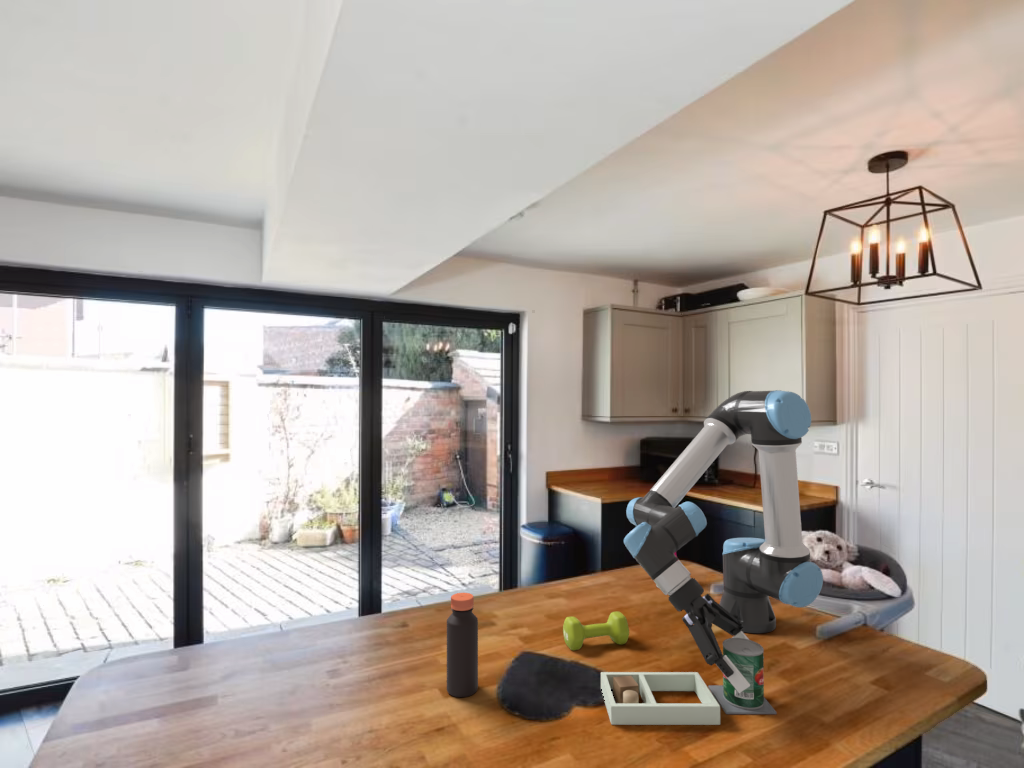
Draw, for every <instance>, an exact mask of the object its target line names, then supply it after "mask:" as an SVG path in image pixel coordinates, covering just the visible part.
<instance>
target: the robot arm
mask: <svg viewBox="0 0 1024 768" xmlns="http://www.w3.org/2000/svg"><path fill="white" fill-rule="evenodd" d="M811 413H812V412H811V410H810V407H809V405H808V404H807V402H806V400H805V398H804V399H803V398H802V397H801V395H799V394H798V393H796V392H793V391H789V390H786V391H785V390H780V389H779V390H778V389H777V390H744V391H740V392H737V393H735V394H733V395H731V396H730V397H728V398H726V399H725V400H724V401H722V402H721V403H720V404H719V405H718V406H716V408H714V409H713V410H712V411H711V413H710V414H709V415H708V416H707V417H706V418H705V419H704V421H703V427H702V429H701V430H700V431H699V432H698V434H696V436H695V437H694V438H693V439H692V440H691V442H690V443H689V444H688V445H687V446H686V448H685V449H684V450H683V451H682V452H681V453H680V454H679V455H678V457H677V458H676V459H675V460H674V461H673V463H672V464H671V465H670V466H669V467H668V469H667V470H666V471H665V472H664V473H663V475H661V477H660V478H659V479H658V480H657V482H656V483H655V484H654V485H653V486H652V487H651V488H650V489H649V491H648V492H647V493H646V494H645V495H644V496H643V497H634V498H633V499H631V500H629V502H628V504H627V507H626V510H625V511H626V512H625V513H626V518H627V519H628V521H629V522H630V524H632V525H634V526H635V527H634V528H633V529H632V530H630V531H629V533H627V534H626V535H625V537H624V538H623V544H624V545H625V547H626V549H627V550H628V552H629V553H630V555H631V556H632V558H633V559H635V560H636V562H637V563H638V564H639V565H640V567H641V568H642V569H643V570H644V571H645V572H646V574H647V575H648V576H649V578H650V579H651V580H652V581H653V582H654V584H655V586H656V588H658V589H659V590H660V591H661V592H662V593H663V594H664V595H665V596H667V595H668V601H669V602H670V605H672V606H673V607H674V609H675V610H676V611H677V612H682V611H685V613H686V614H685V615H684V616H683V617H681V621H682V622H683V623H684V624H685V626H686V627H687V629H688V631H689V632H690V635H691V637H692V638H693V640H694V643H695V644H696V645H697V647H698V649H699V652H700V653H701V655H702V657H703V659H704V661H705V663H706V664H707V665H709V666H710V667H711V666H713V665H714V664H715V665H716V667H718V669H719V670H720V671H721V673H722V675H723V674H724V675H725V676H726V678H727V679H728V680H729V681H730V682H731V684H732V685H733V686H734V687H735V689H736V690H737V691H738V692H739V693H741V692H742V691H744V690H745V689H747V688H748V687H750V684H749V683H748V681H747V680H746V679H745V678H744V676H743V675H742V674H741V673H740V672H739V670H738V669H737V668H736V667H735V665H734V664H733V663H732V662H731V661H730V659H729V658H728V657H727V656H726V655H725V656H723V651H722V650H721V648H720V645H719V643H718V641H717V638H716V635H715V633H714V630H713V625H714V626H716V627H718V628H719V629H721V630H722V631H724V632H726V633H728V634H729V635H730V636H732V637H731V638H744V639H748V640H750V639H749V637H748V636H747V635H746V634H745V633H750V634H765V633H766V634H767V633H770V632H773V631H775V629H776V628H777V619H776V614H775V612H774V608H773V606H772V602H771V600H770V597H771V598H773V599H775V600H777V601H780V602H781V603H782V604H785V605H790V606H793V607H796V608H804V607H807V606H809V605H811V604H813V603H814V602H815V601H816V600H817V597H818V596H819V595H820V592H822V591H821V590H822V588H823V583H824V575H823V571H822V569H821V568H820V567H819V565H817V563H815V562H814V561H811V550H810V548H809V547H808V546H806V545H805V544H804V543H803V532H802V520H801V519H802V518H801V506H800V505H801V503H800V491H799V490H800V489H799V480H798V465H797V449H798V448H799V447H800V446H801V445H802V443H803V442H802V440H803V439H802V437H804V436H806V434H808V432H809V428H811V424H812V414H811ZM745 435H750V439H751V442H750V443H751V445H752V446H753V447H755V448H756V450H757V451H758V458H759V459H758V460H759V462H758V463H759V474H760V485H761V499H762V500H761V501H762V503H761V504H762V515H763V527H764V538H761V537H760V538H759V537H758V538H757V537H732V538H729V539H726V540H725V541H724V542H723V546H722V549H723V551H722V577H723V579H722V580H723V581H722V582H723V591H722V595H721V597H720V601H719V603H718V602H717V601H716V600H715V599H714V598H713V597H712V596H711V595H710V594H708V593H706V594H705V595H704V596H702V595H703V594H704V593H705V590H704V588H703V586H702V585H701V584H700V583H699V582H698V581H697V579H696V578H694V577H691V572H690V570H688V568H687V567H686V566H685V565H684V564H683V563H682V561H680V559H679V558H678V556H677V557H676V556H675V555H674V553H675V552H676V553H677V552H678V551H679V550H680V549H681V548H683V547H684V546H686V545H687V544H688V543H689V542H690V541H692V540H693V539H695V538H696V537H698V536H699V534H700V533H701V532H702V531H703V530H704V529H706V527H707V524H708V522H707V517H706V516H705V514H704V511H702V509H701V508H700V507H699V506H698V505H697V504H696V503H694V502H692V501H685V502H682V503H681V504H679V503H680V502H681V501H682V500H683V499H684V497H685V496H686V495H687V493H688V492H689V491H690V490H691V489H692V488H693V487H694V486H695V484H696V483H697V482H698V481H699V479H700V478H701V477H702V476H703V474H704V473H705V472H706V471H708V470H707V469H708V468H709V467H710V466H711V465H712V464H713V462H715V460H716V459H717V458H718V456H719V455H720V454H721V453H722V452H723V450H724V449H725V448H726V447H727V446H728V445H733V444H734V443H736V442H737V440H738V439H739V438H740V437H743V436H745ZM677 560H678V561H677ZM764 656H765V655H763V657H764ZM764 658H765V657H764Z"/></svg>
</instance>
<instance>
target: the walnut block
mask: <svg viewBox="0 0 1024 768" xmlns="http://www.w3.org/2000/svg"><path fill="white" fill-rule="evenodd" d="M626 690H633V691H636V692H637V693H638V703H639V702H640V700H639V695H640V693H639V685H638V684H637V683H636V681H635V680H634V679H633V677H632V676H622V677H613V691H612V694H613V695H614V696H613V697H615V698H614V700H615V702H616V703H623V692H624V691H626Z"/></svg>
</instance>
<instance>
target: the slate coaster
mask: <svg viewBox="0 0 1024 768" xmlns="http://www.w3.org/2000/svg"><path fill="white" fill-rule="evenodd" d="M707 687H708V689H709V690H710V692H711V693H712V695H713V696H714V698H715V699H716V701H717V702H718V704H719V705H720V708H721V709H722V710H723V712H724V713H725V714H726V715H777V714H778V713H777V711H776V710H775V708H774V707H773V706H772V705H771V704H770V702H769V701H768V700H767V698H766V697H764V705H763V707H761V708H759V709H755V710H748V709H742V708H738V707H736V706H733V705H731V704H730V703H728V702H727V701H726V700H725V699H724V697H723V684H721V685H719V684H718V685H714V684H713V685H712V684H711V685H710V684H709V685H708V686H707Z"/></svg>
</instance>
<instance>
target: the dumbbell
mask: <svg viewBox="0 0 1024 768" xmlns="http://www.w3.org/2000/svg"><path fill="white" fill-rule="evenodd" d="M562 633H563V639H564V642H565V644H566V646H567V648H568V649H570V650H571V651H579V650H580V649H581V648H582V647H583V643H584V641H585V639H590V638H591V639H592V638H597V637H605V636H607V637H608V636H609V638H610V639H611V641H613V642H614V643H615V644H617V645H625V644H626V643H627V642H628V639H629V637H630V628H629V623H628V619H627V617H626V616H625V615H624V614H623V613H622V612H620V611H612V612H610V614H609V615H608V619H607V622H605V623H603V622H601V623H594V624H593V623H592V624H586V625H583V624H582V623H581V621H580V620H579V619H578V618H577V617H576V616H567V617H565V619H564V622H563V626H562Z"/></svg>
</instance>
